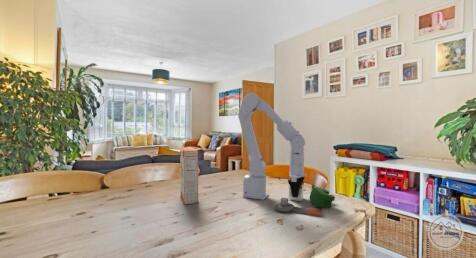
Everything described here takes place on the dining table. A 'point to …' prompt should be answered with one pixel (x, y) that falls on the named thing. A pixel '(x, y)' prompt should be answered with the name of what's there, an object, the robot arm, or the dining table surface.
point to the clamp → (321, 197)
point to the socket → (298, 195)
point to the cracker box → (189, 175)
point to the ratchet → (295, 208)
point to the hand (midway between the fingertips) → (296, 195)
